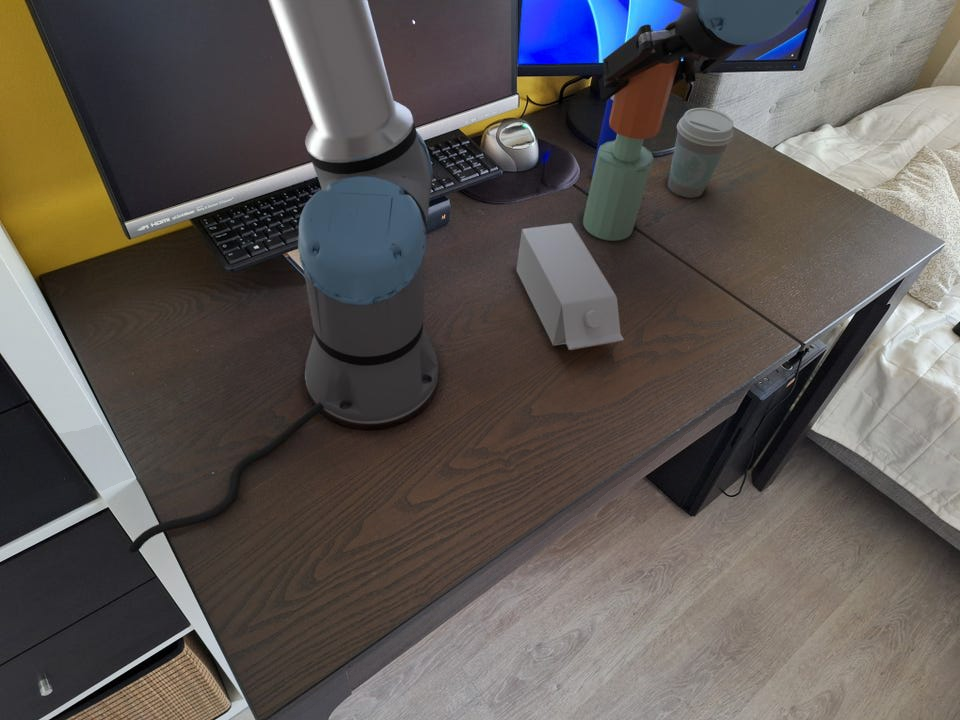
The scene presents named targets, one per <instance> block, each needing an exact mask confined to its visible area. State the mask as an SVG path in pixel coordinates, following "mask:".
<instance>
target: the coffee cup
mask: <svg viewBox="0 0 960 720" xmlns="http://www.w3.org/2000/svg"><path fill="white" fill-rule="evenodd" d="M676 130H677V132H676V138H675V143H674V149H673V154H672V160H671V165H670V170H669V175H668V182H667V187H668V189H669V190H670V192H672V193H673V194H675V195H677V196H680V197H683V198H691V199H692V198H697V197H700V196H701V195H702V194H703V193H704V192H705V189H706V187H707V186H708V184H709V182H710V180H711V177H712V176H713V173H714V172H715V170H716V168H717V167H718V164H719V162H720V160H721V158H722V156H723V154H724V153H725V150H726V149H727V147H728V144H730V143H731V142H732V140H733V138H734V133H735V132H734V121H733V120H732V118H730V117H729V116H728V115H727V114H725V113H723V112H721V111H720V110H717V109H712V108H708V107H696V108H690V109H688V110H686V111H685V112H684V113H683V115H682V117H681V118H680V119H679V121H678V122H677V124H676Z"/></svg>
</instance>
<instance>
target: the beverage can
mask: <svg viewBox="0 0 960 720" xmlns="http://www.w3.org/2000/svg"><path fill="white" fill-rule="evenodd" d="M614 96H615V95H613V96H612V97H611V98H610V99H608V100H607V101H606V106H605V109H604V114H603V118H602V123H601V129H600V133H599V137H598V142H597V145H596V146H597V147H596V151H595V156H594V161H593V165H592V169H591V176H593V172H594V168H595V163H596V159H597V154H598V150H599V148H600V146H601V145H603V144H604V143H606V142H610V141H614V140H616V136H617V133H616V132H615V131H614V130H613V129H611V128H610V124H609V118H610V114H611V109H612V105H613V100H614Z"/></svg>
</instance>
